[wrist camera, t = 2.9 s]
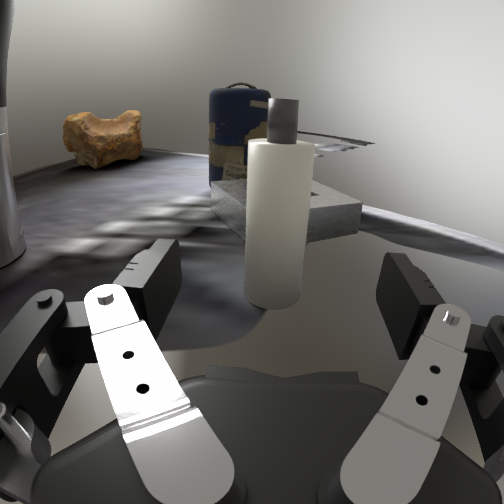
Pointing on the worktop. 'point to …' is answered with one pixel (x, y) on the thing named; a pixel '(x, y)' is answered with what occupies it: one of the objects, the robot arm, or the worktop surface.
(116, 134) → the rough brown rock
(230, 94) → the canister
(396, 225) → the worktop surface
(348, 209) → the grey square socket block
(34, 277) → the worktop surface
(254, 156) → the capped white bottle
